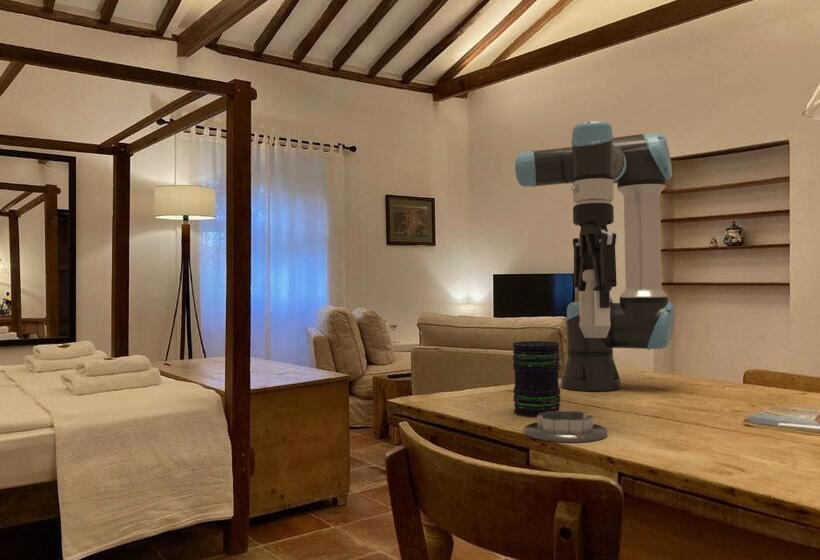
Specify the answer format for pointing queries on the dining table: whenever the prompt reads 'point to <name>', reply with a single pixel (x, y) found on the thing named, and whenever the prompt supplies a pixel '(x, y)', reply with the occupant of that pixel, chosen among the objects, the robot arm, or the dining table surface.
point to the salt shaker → (590, 310)
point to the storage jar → (536, 377)
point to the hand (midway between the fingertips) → (594, 324)
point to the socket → (565, 427)
